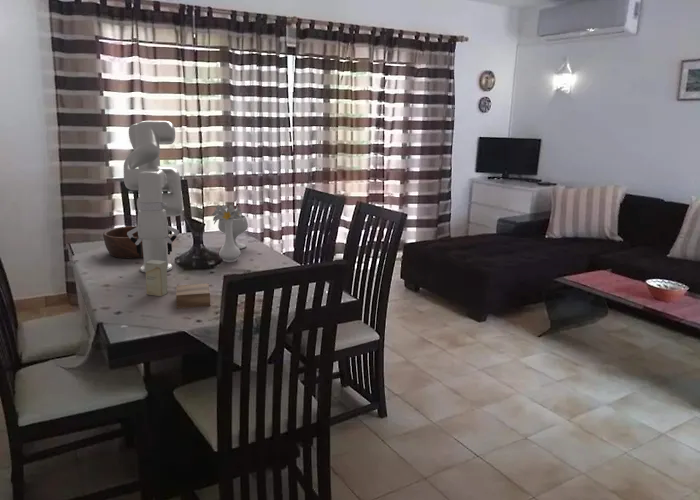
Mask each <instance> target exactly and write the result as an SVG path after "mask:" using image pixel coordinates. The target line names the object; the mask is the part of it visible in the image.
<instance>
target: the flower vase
mask: <svg viewBox="0 0 700 500" xmlns="http://www.w3.org/2000/svg"><path fill="white" fill-rule="evenodd" d="M242 213H243V212H242V210H241V209H239V206H238V205H236V208H235V207H234V205H232V204H230V205H229V207H228V206H227V205H226V204H222V206H220V205H219V204H218V205H217V206H216V208H215V209H214V212H213V213H212V214H211V215H212V216H214V217H213V219H212V222H213V225H215V224H216V223H217V222H218V221H219V220H220V221H223V220H224V223H225V229H226V234H225V239H224V244H223V245H224V246H223V247H222V248H221V247H220V249H219V252H218V255H219V257H220V259H222V261H223V262H224V263H234V262H237V261H238V258H239V257H240V256H241V253H242V252H241V249H239V248H238V247H237V246H236V245H235V243H234V240H233V231H232V225H233V220H234V217H237V218H240V219H241V220H243V218H242V217H241V215H243V214H242ZM243 221H244V220H243Z"/></svg>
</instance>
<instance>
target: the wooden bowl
mask: <svg viewBox="0 0 700 500" xmlns="http://www.w3.org/2000/svg"><path fill="white" fill-rule="evenodd" d="M136 227H138V225H128V226H121V227H113V228H111V229H107V230H105V231H104V232H103V234H102V237H103V241H104V245H105V248H106V250H107V251H108V253H109V254H110V255H111V256H113V257H114V258H119V259H139V258H143V245H142V241H141V242H140V243H141V248H142V255H141V256H139V253H137V247H136V244H135V243H134V242H132V241H131V240H130V238H129V237H128V235H127V232H129V231H131V230H133V229H134V228H136ZM132 235H133V237H134V238H136V239H138V238H139V237H138V231H137V232H135V233H133V234H132Z"/></svg>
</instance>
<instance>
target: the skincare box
mask: <svg viewBox="0 0 700 500" xmlns="http://www.w3.org/2000/svg"><path fill="white" fill-rule="evenodd" d="M145 267H146V273H145V282H146V283H145V286H146V295H148V296H149V295H150V296H155V297H163V296H164V295H166V294H168V271H167V265H166V261H160V260H150V261H147V262H145Z"/></svg>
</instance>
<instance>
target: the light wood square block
mask: <svg viewBox="0 0 700 500" xmlns="http://www.w3.org/2000/svg"><path fill="white" fill-rule="evenodd" d="M175 290H176V292H175V294H176V295H175V300H176V309H189V308H202V307H211V291H210V284H209V283H194V284H193V283H192V284H191V283H190V284H180V285H179V284H177V285H176V288H175Z"/></svg>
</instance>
